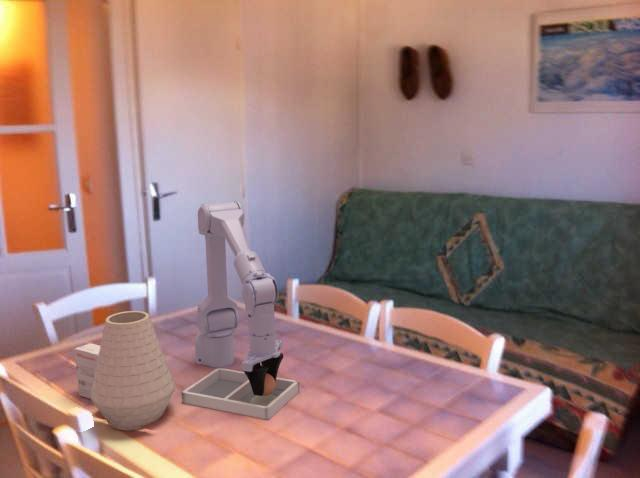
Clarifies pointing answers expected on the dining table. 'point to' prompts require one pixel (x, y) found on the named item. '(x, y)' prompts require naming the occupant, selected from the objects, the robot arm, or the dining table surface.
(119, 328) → the vase
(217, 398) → the tray
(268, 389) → the ball
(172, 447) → the dining table surface
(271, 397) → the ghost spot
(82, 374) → the ink box
